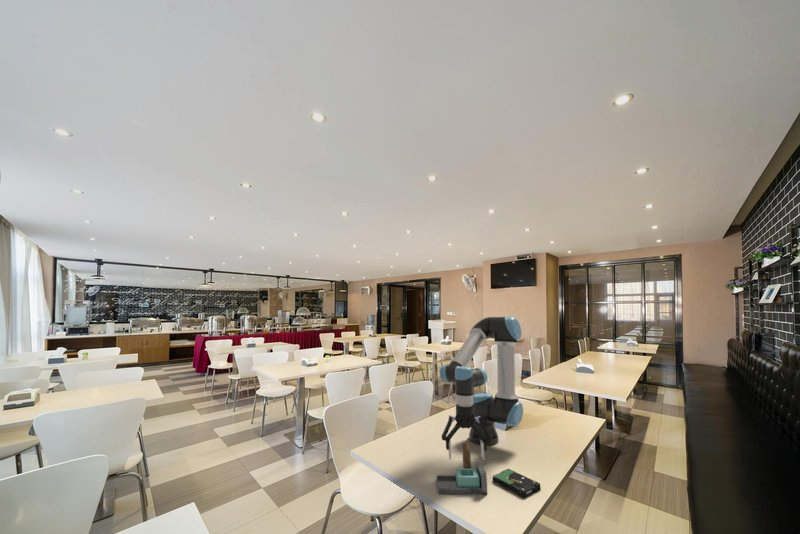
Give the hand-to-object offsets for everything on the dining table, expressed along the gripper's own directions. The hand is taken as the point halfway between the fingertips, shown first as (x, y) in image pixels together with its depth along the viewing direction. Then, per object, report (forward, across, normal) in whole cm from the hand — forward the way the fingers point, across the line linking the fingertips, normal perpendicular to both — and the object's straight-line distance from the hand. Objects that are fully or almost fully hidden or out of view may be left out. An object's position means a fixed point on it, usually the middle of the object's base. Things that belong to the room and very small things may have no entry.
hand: (466, 458), depth 132 cm
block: (+6, +1, +9) cm, 10 cm away
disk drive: (+7, -18, +7) cm, 21 cm away
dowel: (+7, 0, 0) cm, 7 cm away
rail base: (+7, +4, +9) cm, 12 cm away
